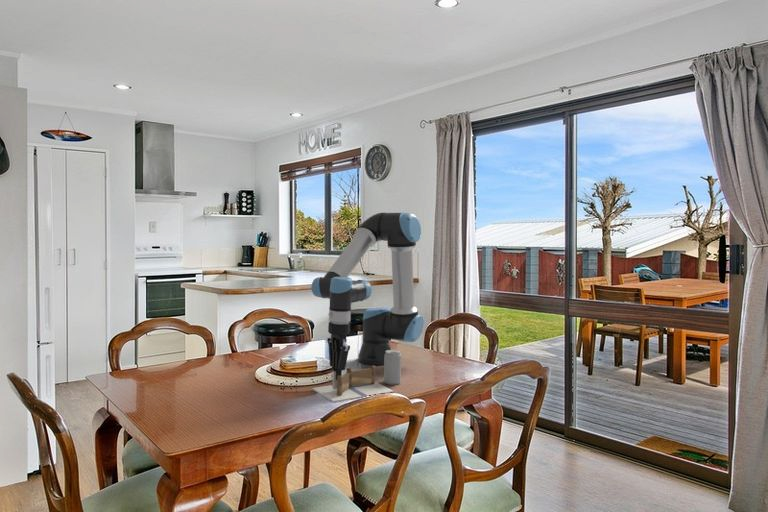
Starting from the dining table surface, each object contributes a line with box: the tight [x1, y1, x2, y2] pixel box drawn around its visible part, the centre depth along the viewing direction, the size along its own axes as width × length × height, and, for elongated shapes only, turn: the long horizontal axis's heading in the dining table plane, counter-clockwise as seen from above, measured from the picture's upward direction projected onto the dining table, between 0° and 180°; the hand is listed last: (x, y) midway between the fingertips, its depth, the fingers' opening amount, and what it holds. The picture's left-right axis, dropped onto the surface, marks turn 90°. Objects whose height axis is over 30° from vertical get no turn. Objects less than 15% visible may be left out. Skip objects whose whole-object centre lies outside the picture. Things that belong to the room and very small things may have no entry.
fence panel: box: [337, 372, 349, 395], centre depth 188 cm, size 2×10×6 cm, turn 165°
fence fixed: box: [346, 365, 377, 388], centre depth 197 cm, size 2×12×7 cm, turn 123°
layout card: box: [311, 381, 395, 403], centre depth 192 cm, size 16×24×1 cm, turn 123°
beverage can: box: [383, 349, 402, 386], centre depth 203 cm, size 6×6×12 cm
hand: (336, 388), depth 189 cm, fingers closed
